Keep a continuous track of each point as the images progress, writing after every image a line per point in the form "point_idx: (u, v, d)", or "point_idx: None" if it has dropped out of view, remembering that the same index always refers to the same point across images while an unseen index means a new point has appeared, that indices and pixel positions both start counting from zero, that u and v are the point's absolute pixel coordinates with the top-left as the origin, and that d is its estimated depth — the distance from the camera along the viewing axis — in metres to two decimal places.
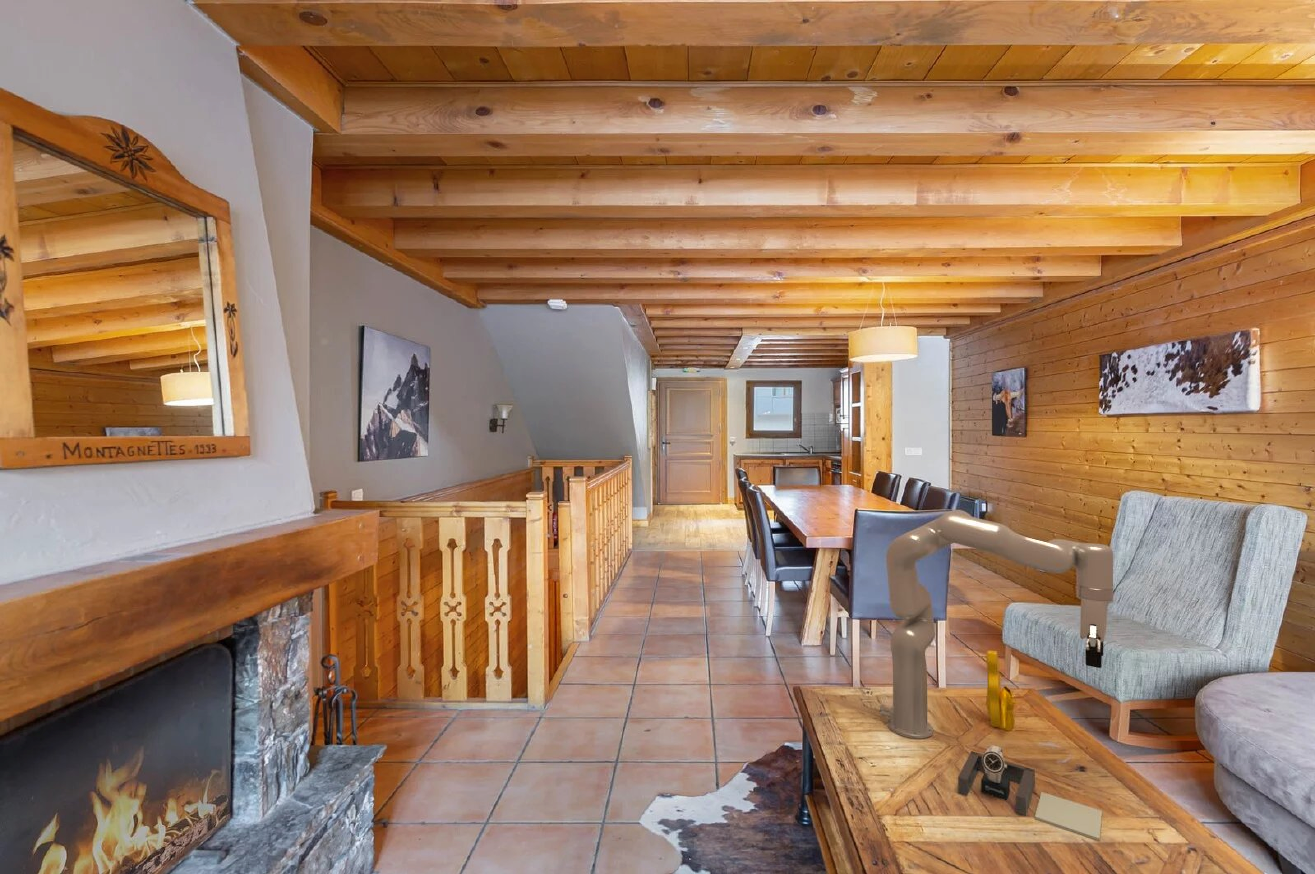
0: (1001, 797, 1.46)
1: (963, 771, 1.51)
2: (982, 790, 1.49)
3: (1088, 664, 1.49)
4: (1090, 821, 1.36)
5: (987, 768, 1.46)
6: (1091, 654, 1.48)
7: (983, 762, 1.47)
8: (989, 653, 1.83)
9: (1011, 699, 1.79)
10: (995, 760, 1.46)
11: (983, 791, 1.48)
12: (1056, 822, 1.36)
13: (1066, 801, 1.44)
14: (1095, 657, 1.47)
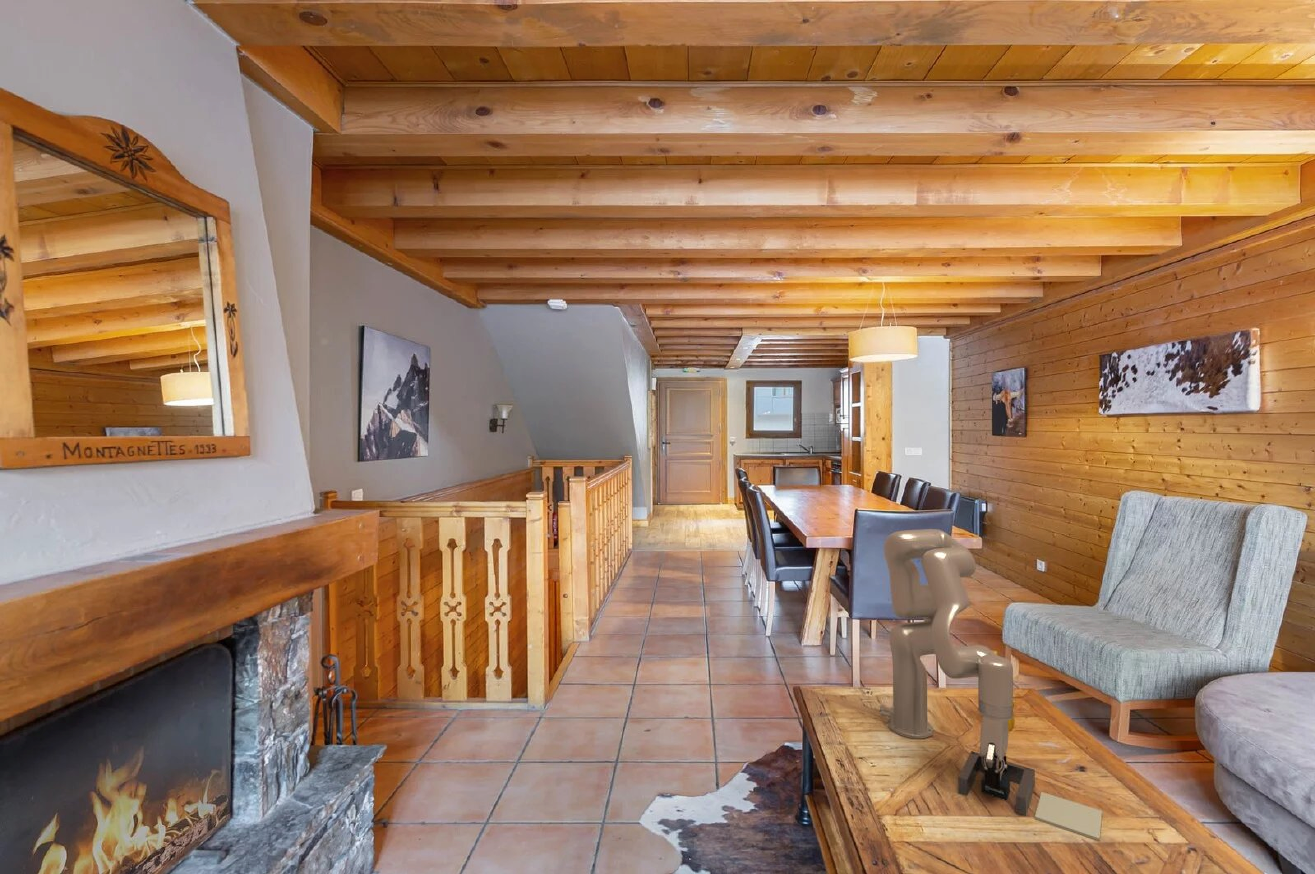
0: (1001, 797, 1.46)
1: (963, 771, 1.51)
2: (982, 790, 1.49)
3: (987, 784, 1.45)
4: (1090, 821, 1.36)
5: None
6: (990, 774, 1.44)
7: (983, 762, 1.47)
8: None
9: None
10: None
11: (983, 791, 1.48)
12: (1056, 822, 1.36)
13: (1066, 801, 1.44)
14: (993, 778, 1.44)
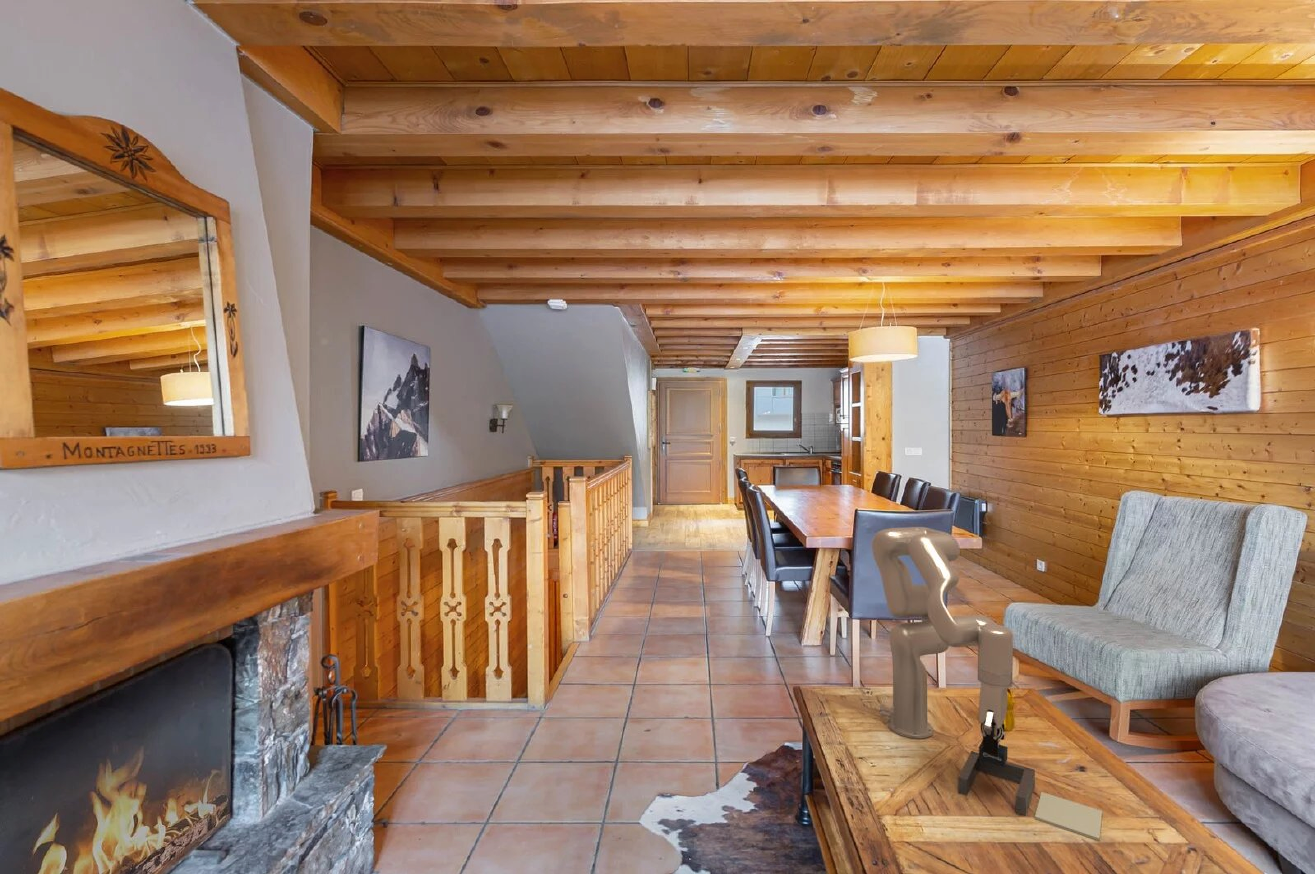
0: (999, 764, 1.47)
1: (963, 771, 1.51)
2: (980, 757, 1.49)
3: (985, 750, 1.46)
4: (1090, 821, 1.36)
5: None
6: (988, 741, 1.45)
7: (981, 729, 1.48)
8: None
9: (1011, 699, 1.79)
10: None
11: (981, 758, 1.49)
12: (1056, 822, 1.36)
13: (1066, 801, 1.44)
14: (991, 744, 1.45)
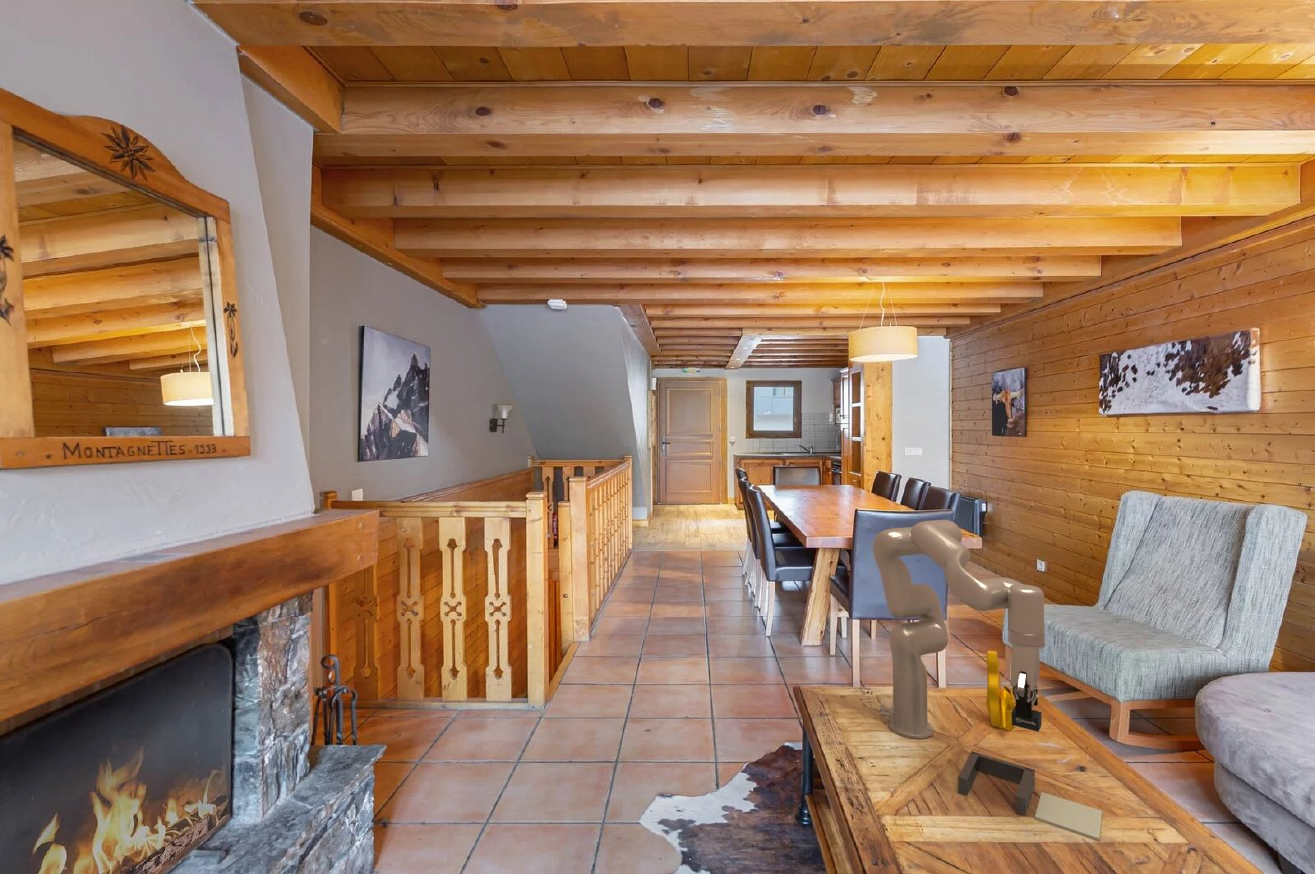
0: (1033, 729, 1.41)
1: (963, 771, 1.51)
2: (1013, 723, 1.44)
3: (1018, 714, 1.41)
4: (1090, 821, 1.36)
5: None
6: (1021, 704, 1.40)
7: (1014, 693, 1.43)
8: (989, 653, 1.83)
9: (1011, 699, 1.79)
10: (1026, 691, 1.42)
11: (1014, 724, 1.44)
12: (1056, 822, 1.36)
13: (1066, 801, 1.44)
14: (1025, 707, 1.40)
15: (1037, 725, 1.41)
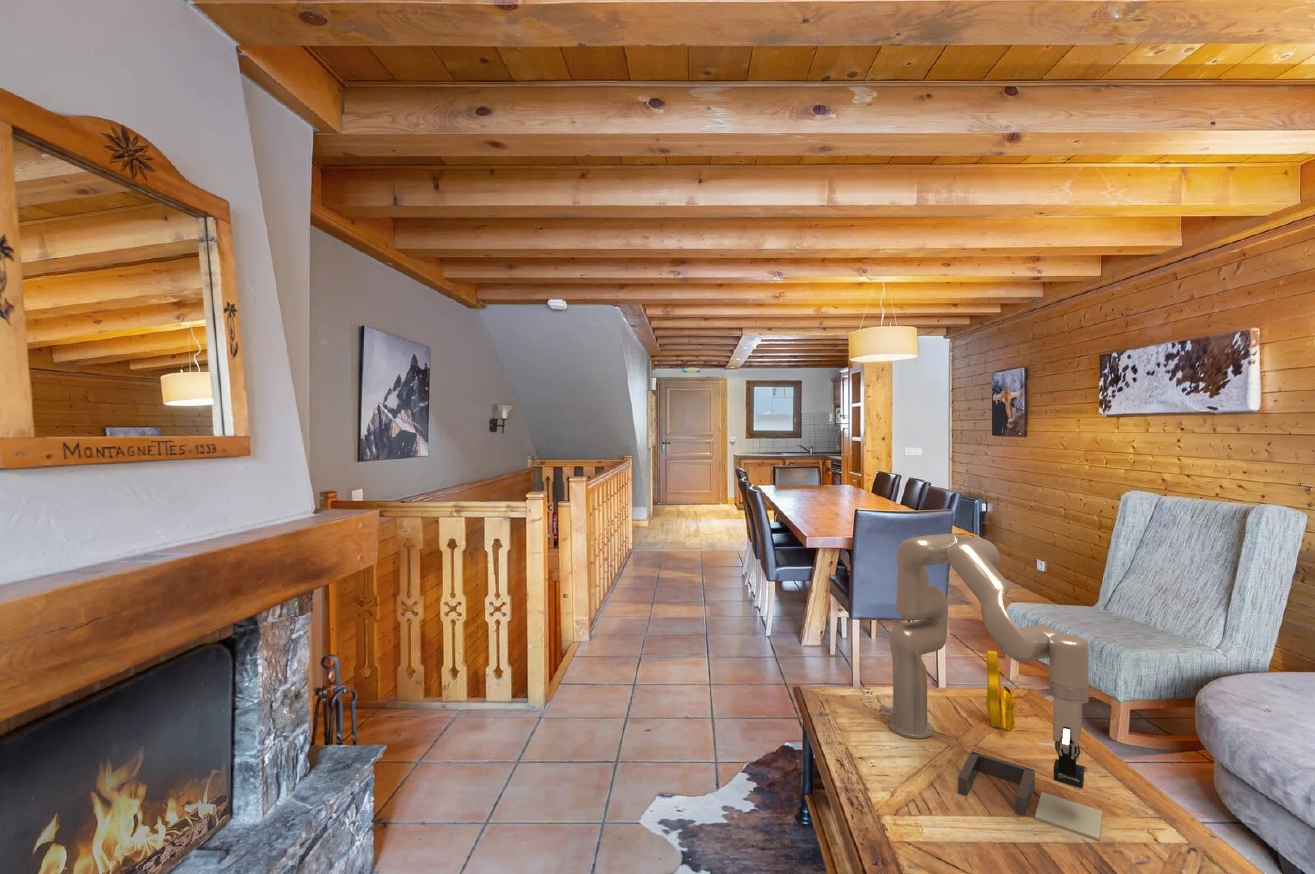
0: (1076, 785, 1.36)
1: (963, 771, 1.51)
2: (1055, 778, 1.39)
3: (1061, 771, 1.36)
4: (1090, 821, 1.36)
5: None
6: (1065, 761, 1.35)
7: (1056, 748, 1.38)
8: (989, 653, 1.83)
9: (1011, 699, 1.79)
10: None
11: (1056, 779, 1.39)
12: (1056, 822, 1.36)
13: (1066, 801, 1.44)
14: (1069, 764, 1.35)
15: (1081, 782, 1.36)
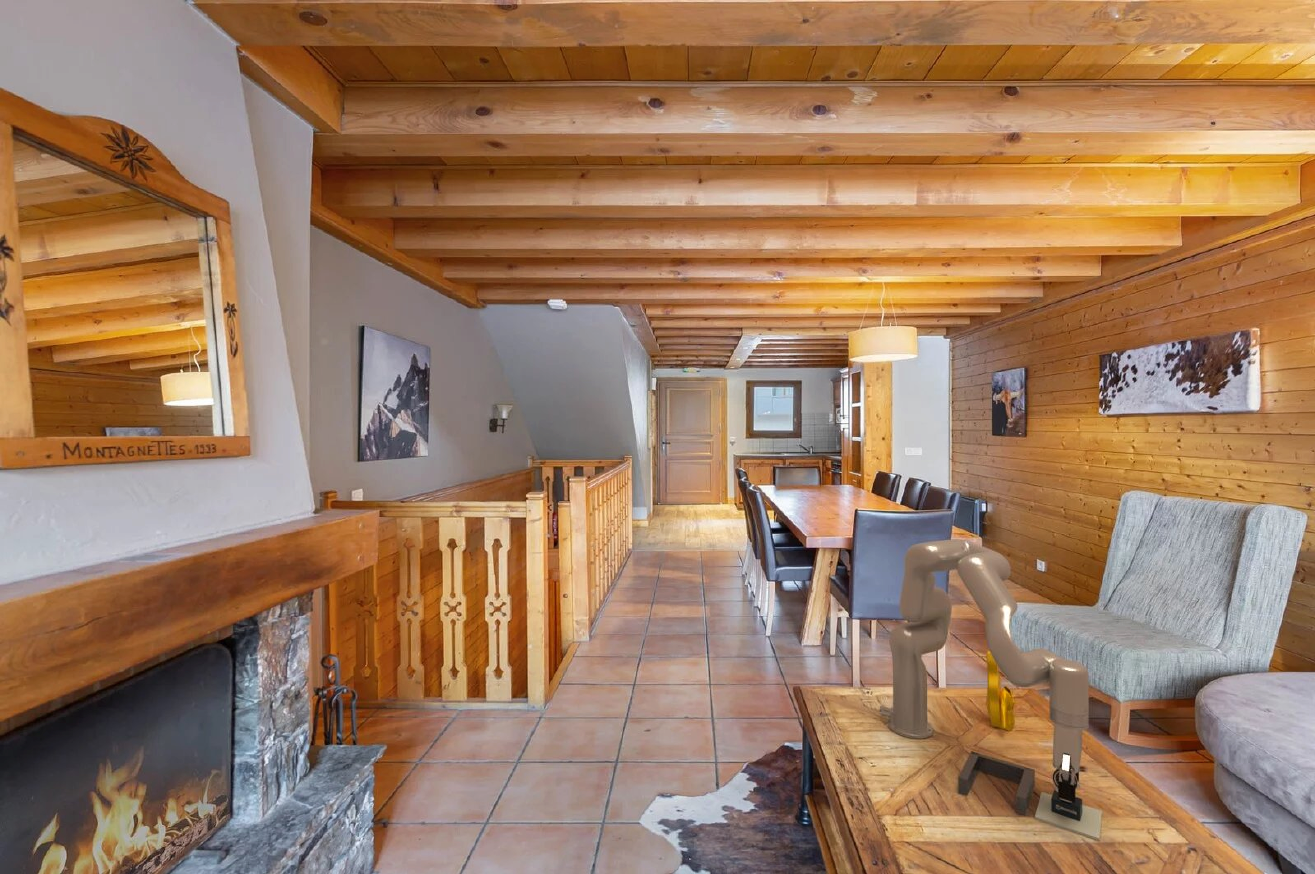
0: (1074, 818, 1.37)
1: (963, 771, 1.51)
2: (1052, 809, 1.40)
3: (1061, 796, 1.36)
4: (1090, 821, 1.36)
5: None
6: (1064, 787, 1.35)
7: (1054, 780, 1.39)
8: (989, 653, 1.83)
9: (1011, 699, 1.79)
10: None
11: (1053, 811, 1.40)
12: (1056, 822, 1.36)
13: None
14: (1068, 790, 1.34)
15: (1078, 814, 1.37)
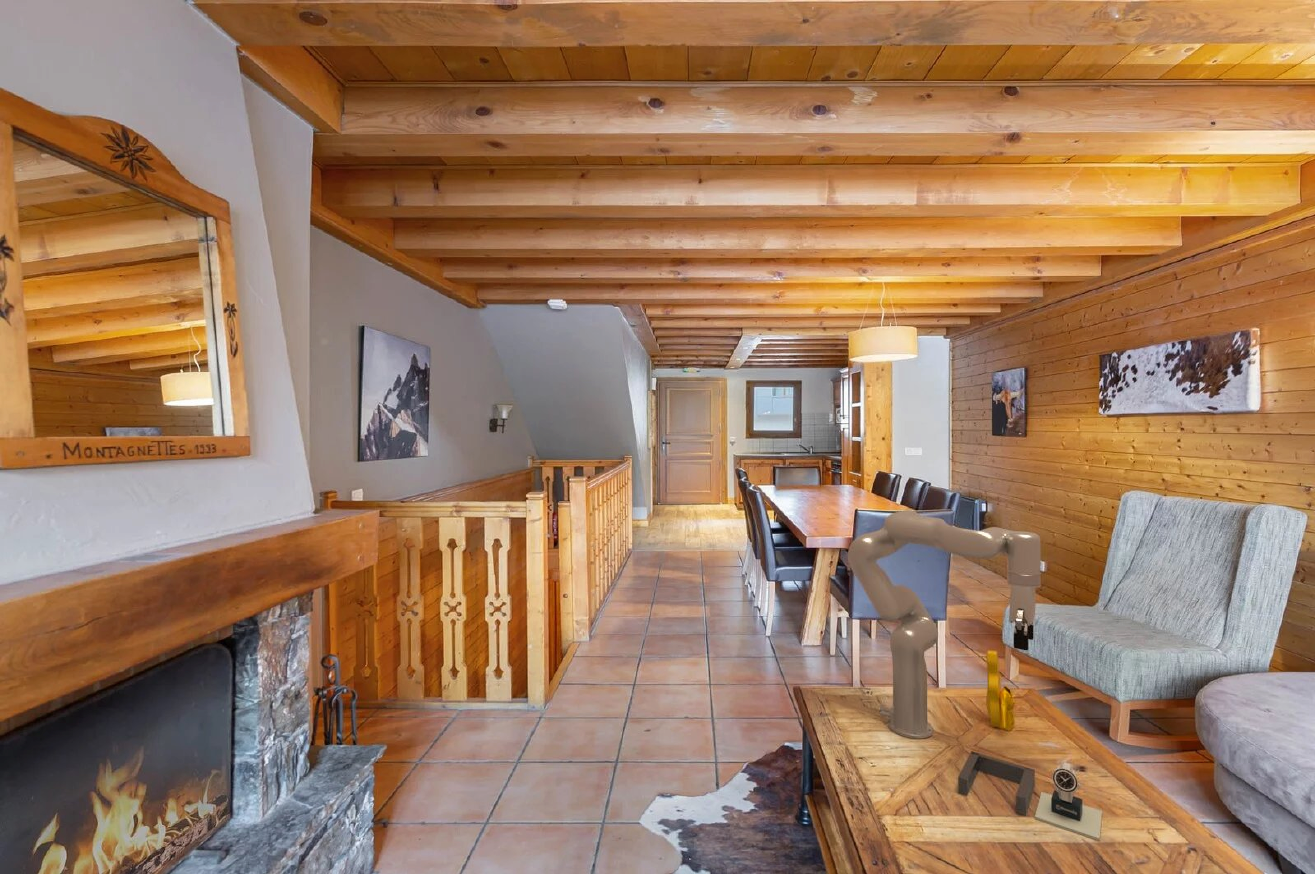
0: (1074, 818, 1.37)
1: (963, 771, 1.51)
2: (1052, 809, 1.40)
3: (1016, 647, 1.55)
4: (1090, 821, 1.36)
5: (1058, 786, 1.38)
6: (1018, 637, 1.54)
7: (1054, 780, 1.39)
8: (989, 653, 1.83)
9: (1011, 699, 1.79)
10: (1067, 778, 1.38)
11: (1053, 811, 1.40)
12: (1056, 822, 1.36)
13: None
14: (1022, 640, 1.53)
15: (1078, 814, 1.37)
